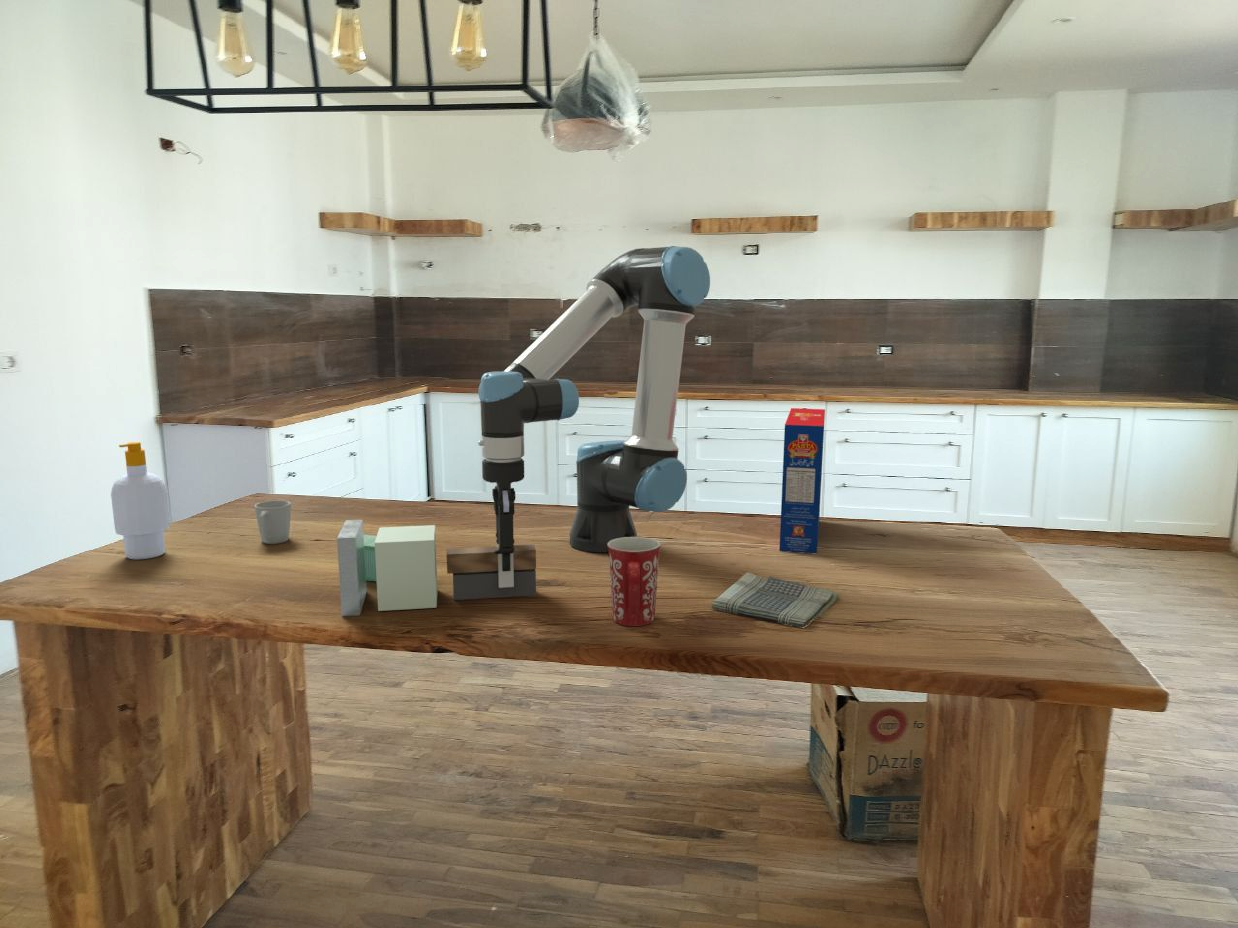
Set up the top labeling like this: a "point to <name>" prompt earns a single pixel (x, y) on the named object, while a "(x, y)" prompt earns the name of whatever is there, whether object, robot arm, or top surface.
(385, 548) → the block
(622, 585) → the mug
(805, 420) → the pasta box
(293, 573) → the top surface
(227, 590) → the top surface
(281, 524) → the cup
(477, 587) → the rubber rail
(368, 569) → the box
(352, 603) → the grey base plate
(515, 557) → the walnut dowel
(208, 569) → the top surface
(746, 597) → the dish towel
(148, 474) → the soap bottle
